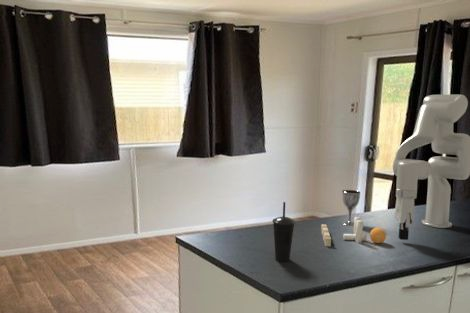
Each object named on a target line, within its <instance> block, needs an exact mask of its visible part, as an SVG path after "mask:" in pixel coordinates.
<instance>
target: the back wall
mask: <svg viewBox="0 0 470 313" xmlns="http://www.w3.org/2000/svg"><path fill="white" fill-rule="evenodd" d="M320 226H321V228H320V232H321V235H322V239H323V242H324V246H325V247H332V246H331V244H332V238H331V235H330V232H329V229H328V226H327V224H323V223H322V224H320Z"/></svg>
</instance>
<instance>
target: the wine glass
mask: <svg viewBox="0 0 470 313" xmlns="http://www.w3.org/2000/svg"><path fill="white" fill-rule="evenodd" d="M341 191H342V192H341V200H342V203H343V205H344V207H345V208H346V209H347V211H348V220H346V221H341V224H342V225H343V226H347V227H348V226H352V227H354V221H352V219H351V218H352V212H353V211H354V209H355V208H356V207H357V206H358V205H359V202H360V199H361V191H359V190H356V189H355V190H354V189H343V190H341Z"/></svg>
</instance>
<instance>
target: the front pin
mask: <svg viewBox="0 0 470 313" xmlns="http://www.w3.org/2000/svg"><path fill="white" fill-rule="evenodd" d="M342 238H343V240H345V241H355V239H356V234H354V233H343V237H342ZM366 241H367V235H366V234H362V242H366Z"/></svg>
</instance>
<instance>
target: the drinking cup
mask: <svg viewBox="0 0 470 313" xmlns="http://www.w3.org/2000/svg"><path fill="white" fill-rule="evenodd" d="M272 224H273V236H274V237H273V238H274V239H273V240H274V255H275V256H274V257H275V258H274V259H275V260H276V261H277V262H283V263H285V262H289V261H290V259H291V252H292V250H291V249H292V244H293V235H294V227H295V224H296V221H295V219H292V218H291V217H287V216H286V202H285V201H283V206H282V216H277V217H275V218H273V219H272Z"/></svg>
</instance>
